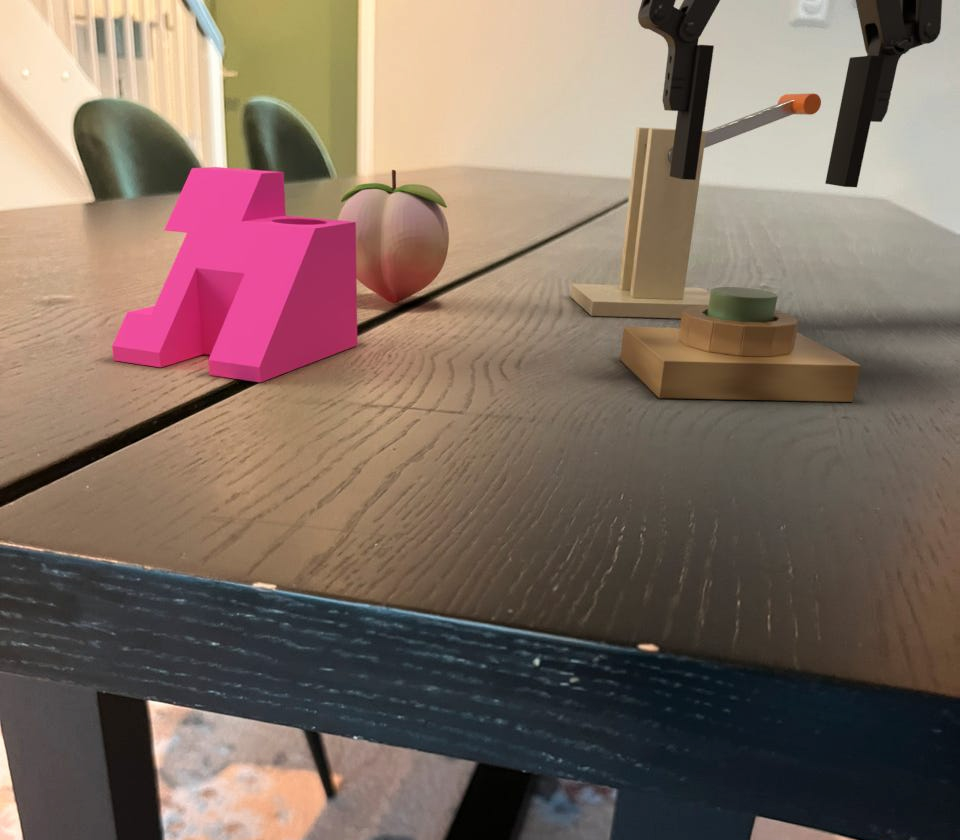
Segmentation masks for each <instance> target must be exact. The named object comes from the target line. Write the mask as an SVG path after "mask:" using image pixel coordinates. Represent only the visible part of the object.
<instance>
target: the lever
mask: <svg viewBox="0 0 960 840" xmlns="http://www.w3.org/2000/svg"><path fill="white" fill-rule="evenodd" d="M821 106H822V99H821V97H820V95H819V94H817V93H813V92H812V93H786V94H783V95H781V96H780V98H779V99H778V101H777V104H775V105H771V106H769V107H766V108H764V109H760V110H759V111H756V112H753V113H750V114H748V115H746V116H743V117H740V118H738V119H735V120H732V121H729V122H727V123H725V124H722V125H719V126H717V127H714V128H712V129H709V130H705V131H706V138H705V146H704V149H706V148H709V147H711V146H713V145H717V144H719V143H722V142H724V141H727V140H729V139H730V140H731V139H732V138H735V137H738V136H740V135H743V134H745V133H747V132H751V131H753V130H755V129H758V128H761V127H764V126H766V125H769V124H772V123H774V122H777V121H779V120H782V119H784V118H787V117H790V116H792V115H807V116H808V115H810V116H811V115H815V114H816V113H817V112H819V110H820V108H821ZM645 149H647V144H645Z"/></svg>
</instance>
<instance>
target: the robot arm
mask: <svg viewBox="0 0 960 840" xmlns="http://www.w3.org/2000/svg"><path fill="white" fill-rule="evenodd" d="M676 1H677V0H641V3H640V6H639V8H638V9H639V10H638V14H637V20H638V21H637V22H638V24H639V25H640V27H641V28H643V29H644V30H649V31H651V32H653V33H656V34H657V35H659V36H660V37H662V38H663V39H664V40H665V42H666V44H667V57H666V65H665V74H664V82H663V90H662V104H663V109H664V111H669V112H670V111H671V112H677V114H676V122H675V128H674V129H675V137H674V145H673V153H672V161H671V169H670V177H675V178H679V179H687V180H696V172H697V165H698V158H699V151H700V143H701V136H702V131H703V127H704V120H705V113H706V106H707V99H708V92H709V91H708V90H709V86H710V85H709V84H710V78H711V77H710V76H711V70H712V63H713V56H714V49H715V45H713V44H712V45H710V44H699V40H700V39H699V38H700V37H701V35H702V34H703V32H704V30H705V28H706V27H707V25H708V24H709V21H710V20H711V17H712V16H713V14H714V13H715V11H716V9H717V7H718V5H719V4H720V1H721V0H683V1H682V3H681V5H680V6H679V8H677V7H675V4H676ZM855 4H856V9H857V14H858V19H859V24H860V29H861V35H862V39H863V45H864V49H865V52H866V55H862V56H852V57H849V60H848V66H847V70H846V75H845V81H844V84H843V91H842V95H841V102H840V106H839V110H838V117H837V122H836V126H835V132H834V136H833V142H832V147H831V151H830V158H829V161H828V162H829V163H828V167H827V172H826V176H825V177H826V178H825V182H824V184H825V185H831V186H835V187H836V186H837V187H843V188H858V185H859V181H860V180H859V179H860V174H861V170H862V166H863V161H864V156H865V151H866V147H867V143H868V142H867V141H868V137H869V132H870V129H871V128H870V127H871V123H882V122H883V120H884V118H885V117H886V115H887V113H888V109H889V104H890V99H891V95H892V90H893V86H894V81H895V77H896V72H897V67H898V64H899V60H900V59H901V57H902V56H903V55H905V54H907V53H908V52H909V51H910V50H911V49H914V48H917V47H920V46H923V45H926V44H927V45H928V44H931V43H934V42H935V41H936V40H937V39H938V37H939V36H940V34H941V29H942V11H943V0H855Z"/></svg>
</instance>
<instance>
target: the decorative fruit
mask: <svg viewBox="0 0 960 840" xmlns="http://www.w3.org/2000/svg"><path fill="white" fill-rule="evenodd" d="M343 202H345V204H344V205H343V207H342V208H341V210H340V212H339V214H338V218H337V220H340V221H351V222H356V281H358V282H359V283H361V284H362V285H363V286H364V287H366V288H367V289H369V290H370V291H371V292H373V293H374V294H377V296H379V297H381V298H382V299H384V300H385V301H387V302H389V303H392V304H397V303H400V302H402V301H403V300H405V299H407V298H410V297H411V296H413V295H415V294H417V293H419V292H421V291H423V290H424V289H425V288H427V287H428V286H429V285H430V284H431V283H432V282H434V281H435V280H436V278H437V277H438V275H439V274H440V273H441V271H442V269H443V267H444V265H445V263H446V260H447V257H448V252H449V244H450V243H449V242H450V231H449V225H448V221H447V219H446V216H445V214H444V211H443V210H442V208H441V207H443V208H445V209H447V207H448V205H447V204H446V202H445V199H444V198H443V197H442V195H440V194H439V192H437V190H435V189H433V188H432V187H430V186H427V185H424V184H417V183H416V184H412V183H410V184H409V183H408V184H404V185H401V186H398V187H397V171H396V170H395V169H391V186H389V185H388V184H385V183H380V182H371V183H370V182H369V183H368V182H367V183H362V184H358V185H354V186H352V187H351V188H349V189H348V190H347V191H346V192H345V193H344V194H343V196H342V197H341V199H340V203H343ZM440 206H441V207H440Z"/></svg>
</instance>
